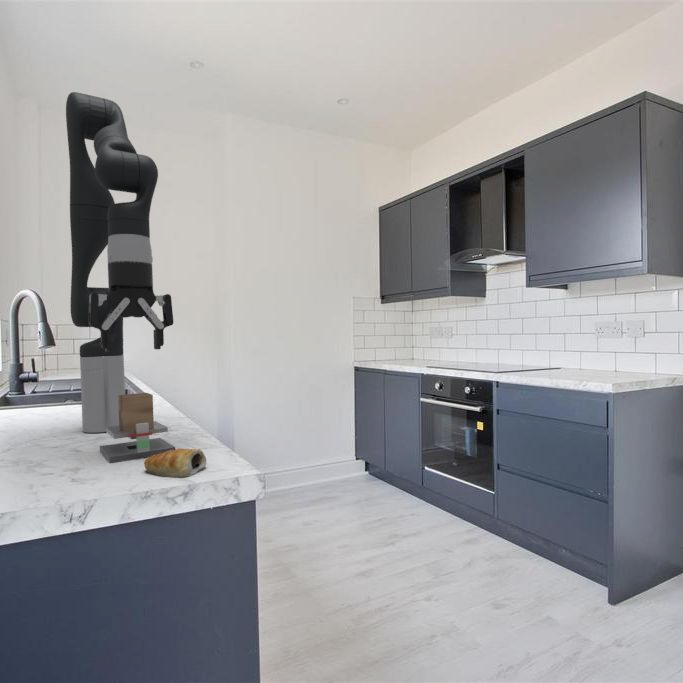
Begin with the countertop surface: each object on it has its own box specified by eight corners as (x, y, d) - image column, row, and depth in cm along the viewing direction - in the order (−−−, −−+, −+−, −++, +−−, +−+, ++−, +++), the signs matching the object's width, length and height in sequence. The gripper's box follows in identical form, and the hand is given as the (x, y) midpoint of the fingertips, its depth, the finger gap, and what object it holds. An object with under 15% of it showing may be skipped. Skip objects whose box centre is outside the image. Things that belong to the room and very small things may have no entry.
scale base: (99, 451, 92) (98, 419, 92) (160, 442, 98) (159, 412, 98) (109, 463, 83) (108, 427, 83) (175, 452, 89) (174, 419, 89)
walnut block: (119, 427, 91) (118, 395, 91) (147, 423, 94) (146, 392, 94) (124, 431, 87) (123, 397, 87) (153, 427, 90) (152, 394, 90)
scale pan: (105, 437, 92) (105, 427, 92) (155, 430, 97) (155, 421, 97) (116, 447, 83) (115, 436, 83) (170, 439, 88) (170, 428, 88)
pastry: (133, 476, 75) (132, 452, 75) (160, 465, 82) (160, 442, 82) (187, 479, 73) (186, 454, 73) (211, 467, 79) (210, 444, 79)
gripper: (164, 266, 97) (167, 348, 98) (84, 262, 89) (87, 351, 90) (175, 262, 91) (178, 349, 91) (89, 257, 83) (93, 352, 83)
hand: (133, 350), depth 90 cm, fingers open, 8 cm apart
